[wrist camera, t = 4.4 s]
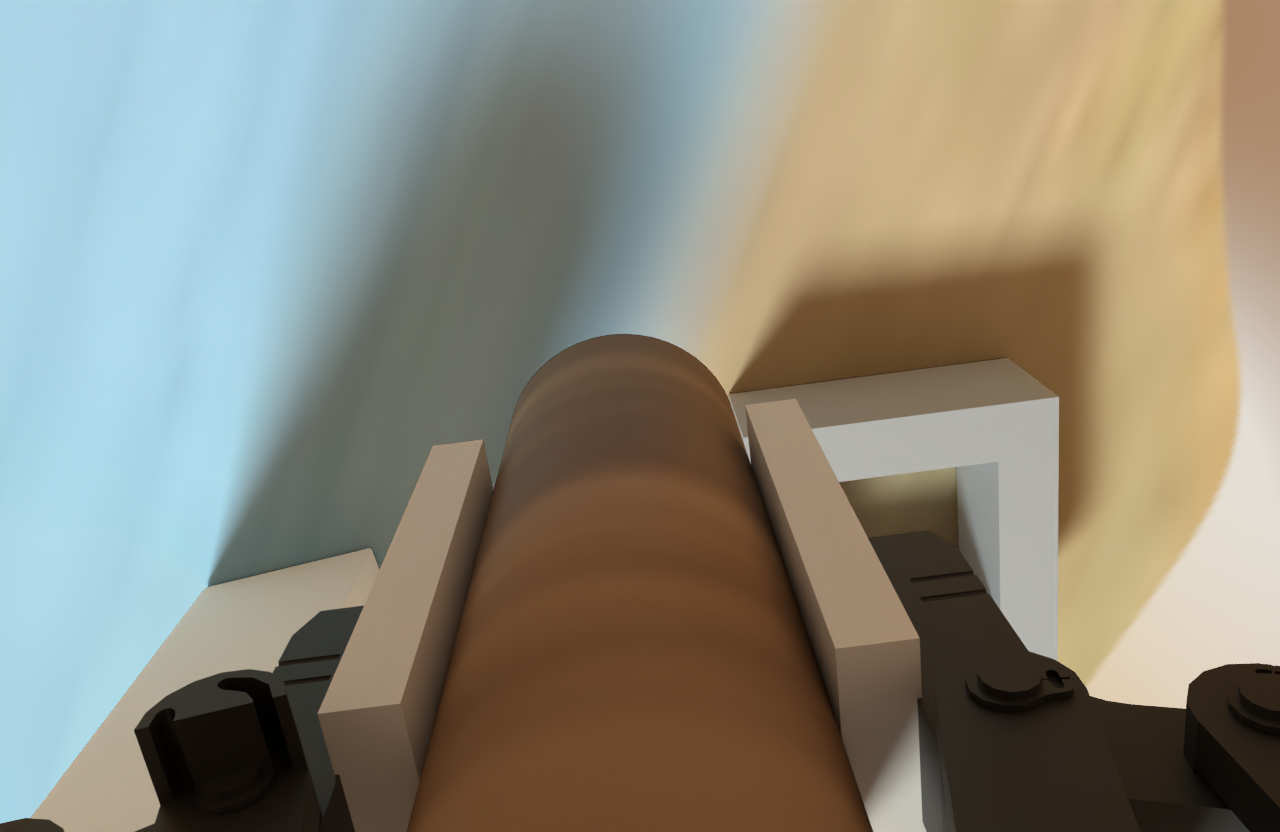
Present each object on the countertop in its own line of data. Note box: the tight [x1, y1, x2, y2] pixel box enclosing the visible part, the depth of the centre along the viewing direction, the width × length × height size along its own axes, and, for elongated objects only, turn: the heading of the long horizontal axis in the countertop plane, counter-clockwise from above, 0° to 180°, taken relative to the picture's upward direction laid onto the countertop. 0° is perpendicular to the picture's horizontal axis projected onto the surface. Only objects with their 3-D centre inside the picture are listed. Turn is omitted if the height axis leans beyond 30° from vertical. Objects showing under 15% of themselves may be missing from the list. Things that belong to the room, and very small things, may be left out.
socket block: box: [729, 358, 1059, 661], centre depth 33 cm, size 9×9×4 cm
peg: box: [407, 334, 873, 832], centre depth 13 cm, size 4×4×12 cm
